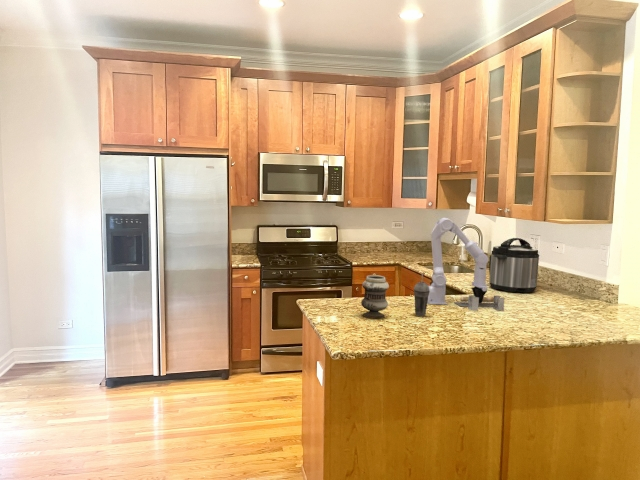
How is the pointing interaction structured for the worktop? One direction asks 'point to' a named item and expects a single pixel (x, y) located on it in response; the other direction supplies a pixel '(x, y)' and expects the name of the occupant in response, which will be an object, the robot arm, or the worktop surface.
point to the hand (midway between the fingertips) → (478, 302)
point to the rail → (485, 299)
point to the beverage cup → (421, 298)
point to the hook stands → (478, 302)
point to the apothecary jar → (375, 296)
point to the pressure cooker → (514, 267)
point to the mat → (465, 304)
